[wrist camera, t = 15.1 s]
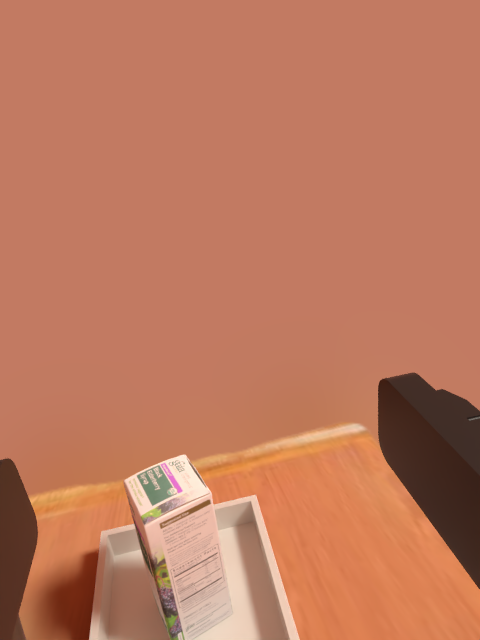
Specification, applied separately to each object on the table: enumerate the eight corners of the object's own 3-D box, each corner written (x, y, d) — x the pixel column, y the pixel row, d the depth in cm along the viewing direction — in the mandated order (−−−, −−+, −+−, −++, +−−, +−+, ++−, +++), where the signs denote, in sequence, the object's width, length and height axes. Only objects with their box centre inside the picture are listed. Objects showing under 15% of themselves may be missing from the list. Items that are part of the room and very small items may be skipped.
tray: (93, 743, 34) (80, 715, 32) (109, 556, 49) (101, 531, 47) (306, 680, 36) (303, 652, 34) (259, 519, 51) (255, 494, 49)
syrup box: (152, 599, 43) (117, 479, 37) (209, 566, 45) (184, 449, 40) (175, 653, 38) (139, 526, 33) (237, 614, 41) (213, 489, 35)
